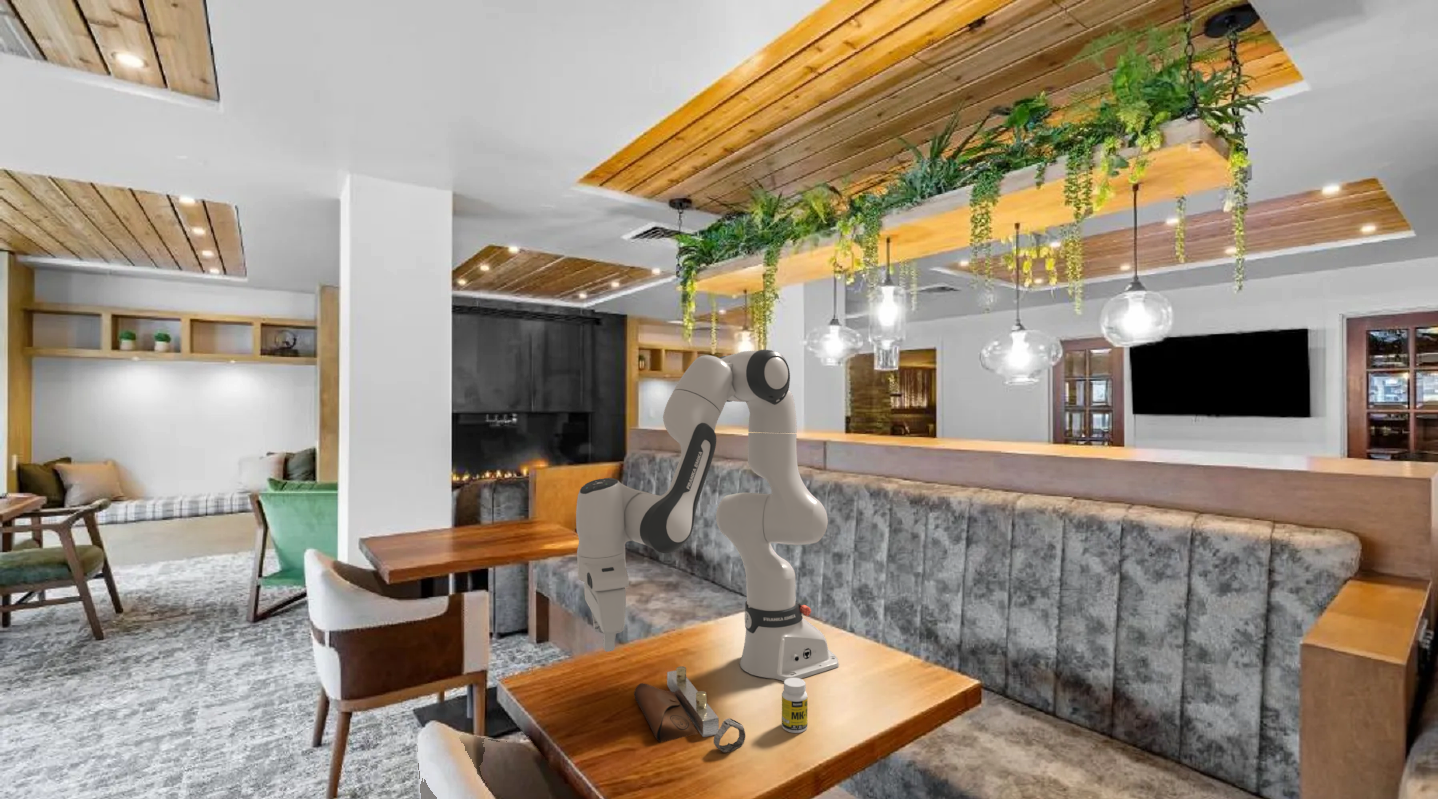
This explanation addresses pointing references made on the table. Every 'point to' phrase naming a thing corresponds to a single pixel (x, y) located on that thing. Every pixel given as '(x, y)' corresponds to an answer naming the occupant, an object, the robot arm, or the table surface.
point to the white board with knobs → (693, 702)
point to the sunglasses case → (664, 713)
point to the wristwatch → (724, 727)
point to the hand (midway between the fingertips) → (603, 639)
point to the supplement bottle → (794, 705)
